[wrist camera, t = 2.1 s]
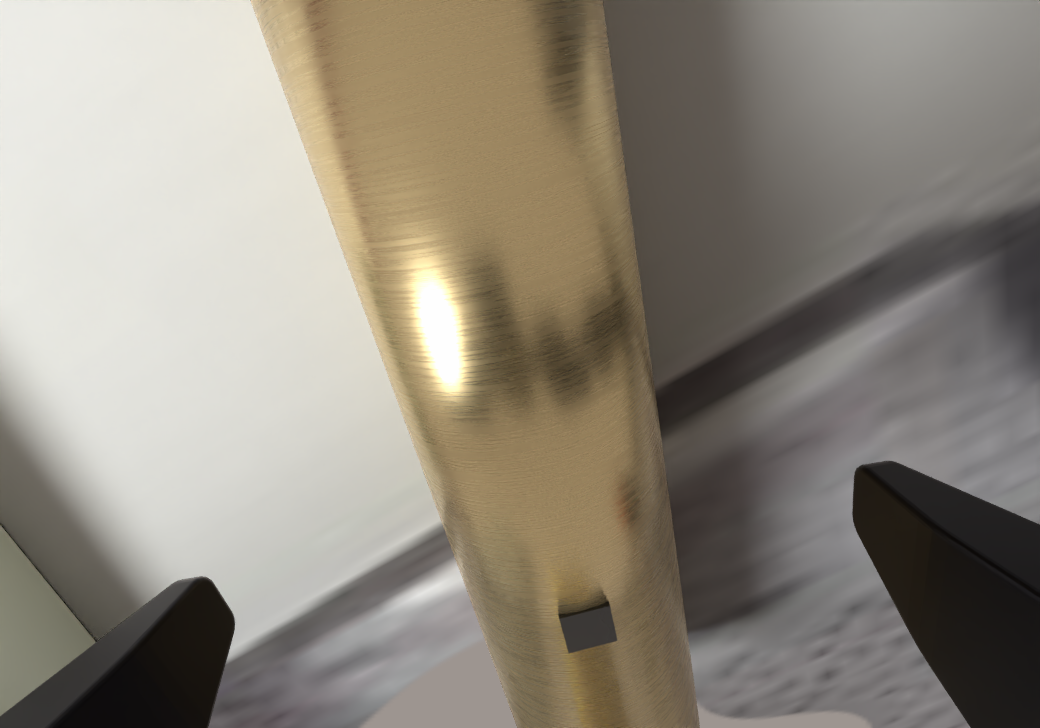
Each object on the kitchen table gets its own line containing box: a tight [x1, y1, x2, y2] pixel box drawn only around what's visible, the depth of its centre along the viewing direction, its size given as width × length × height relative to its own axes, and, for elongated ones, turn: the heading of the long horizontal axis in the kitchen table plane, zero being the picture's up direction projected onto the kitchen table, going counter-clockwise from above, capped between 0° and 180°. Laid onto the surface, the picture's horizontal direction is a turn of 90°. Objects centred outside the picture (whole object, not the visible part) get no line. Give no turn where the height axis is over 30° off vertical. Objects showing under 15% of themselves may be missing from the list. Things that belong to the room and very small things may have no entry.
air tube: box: [250, 0, 700, 728], centre depth 11 cm, size 22×5×5 cm, turn 13°
